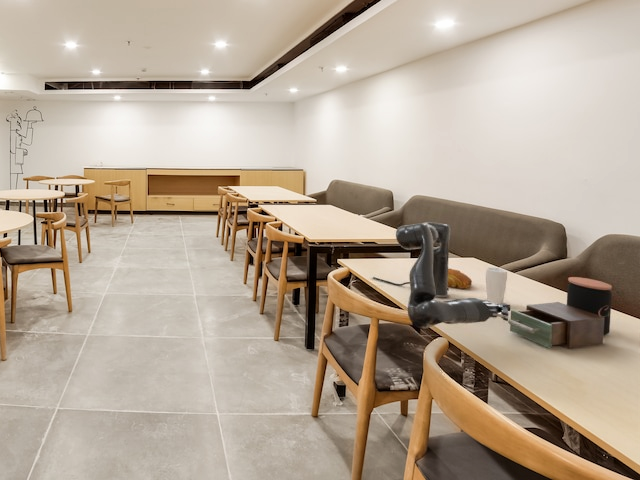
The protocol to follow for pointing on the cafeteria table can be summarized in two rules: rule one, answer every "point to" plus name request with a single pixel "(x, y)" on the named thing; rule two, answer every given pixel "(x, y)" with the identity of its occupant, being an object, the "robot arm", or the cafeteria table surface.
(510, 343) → the cafeteria table surface
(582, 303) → the coffee jar
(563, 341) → the drawer
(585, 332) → the cabinet
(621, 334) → the cafeteria table surface
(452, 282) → the croissant
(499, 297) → the white cup
